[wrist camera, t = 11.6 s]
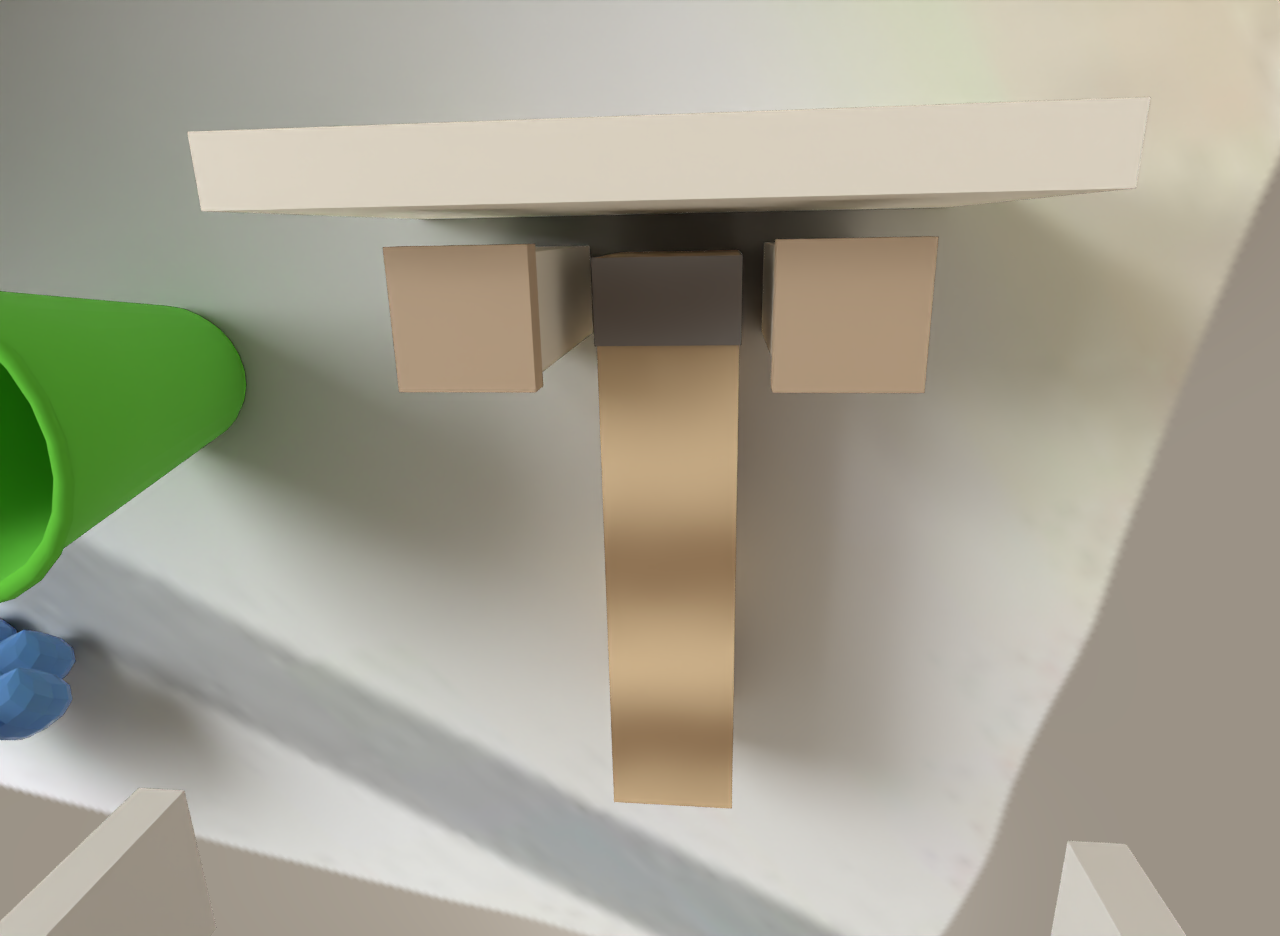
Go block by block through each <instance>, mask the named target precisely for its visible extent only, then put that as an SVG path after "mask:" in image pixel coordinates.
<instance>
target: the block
mask: <svg viewBox="0 0 1280 936" xmlns="http://www.w3.org/2000/svg"><path fill="white" fill-rule="evenodd" d="M591 264H592V290H593V316H594V342H595V346H597V360H598V386H599V413H600V439H601V466H602V492H603V519H604V545H605V572H606V598H607V625H608V651H609V678H610V704H611V731H612V757H613V784H614V802H625V803H643V804H661V805H679V806H697V807H714V808H732V758H733V697H734V636H735V575H736V514H737V453H738V392H739V345H741V326H742V267H743V255H742V254H741V252H740V251H739V250H701V251H650V252H618V253H613V254H609V255H604V256H599V257H594V258H591Z"/></svg>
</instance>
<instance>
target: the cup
mask: <svg viewBox="0 0 1280 936" xmlns="http://www.w3.org/2000/svg"><path fill="white" fill-rule="evenodd" d="M245 391H246V379H245V370H244V367H243V364H242V361H241V359H240V356H239V354H238V352H237V350H236V349H235V347H234V345H233V344H232V342H231V341H230V340H229V339H228V337H227V336H226V335H225V334H224V333H223V332H222V331H221V330H220V329H219V328H218V327H216V326H215V325H214V324H212V323H211V322H209V321H208V320H206V319H204V318H203V317H201V316H199V315H197V314H195V313H193V312H190V311H188V310H186V309H182V308H176V307H171V306H163V305H151V304H140V303H128V302H117V301H105V300H94V299H82V298H71V297H60V296H48V295H37V294H25V293H14V292H2V291H0V603H2V602H5V601H8V600H12V599H15V598H16V597H18V596H19V595H21V594H22V593H24V592H25V591H27V590H28V589H29V588H31V587H32V586H34V585H35V584H37V583H38V582H40V581H41V580H42V579H43V578H44V576H45V575H46V574H47V572H48V571H49V570H50V568H51V567H52V566H53V564H54V563H55V562H56V560H57V559H58V558H59V556H60V555H61V554H62V551H63V548H65V547H66V546H68V545H69V544H70V543H72V542H73V541H75V540H76V539H77V538H79V537H80V536H81V535H83V534H84V533H86V532H87V531H88V530H90V529H91V528H92V527H94V526H95V525H97V524H98V523H99V522H101V521H102V520H103V519H105V518H106V517H108V516H109V515H110V514H112V513H113V512H115V511H116V510H117V509H119V508H120V507H121V506H123V505H124V504H126V503H127V502H128V501H130V500H131V499H132V498H134V497H135V496H137V495H138V494H139V493H141V492H142V491H143V490H145V489H146V488H148V487H149V486H150V485H152V484H153V483H155V482H156V481H157V480H159V479H160V478H161V477H163V476H164V475H166V474H167V473H168V472H170V471H171V470H172V469H174V468H175V467H177V466H178V465H179V464H181V463H182V462H183V461H185V460H186V459H188V458H189V457H190V456H192V455H193V454H195V453H196V452H197V451H199V450H200V449H201V448H203V447H204V446H206V445H207V444H208V443H210V442H211V441H212V440H214V439H215V438H217V437H218V436H219V435H221V434H222V433H223V432H225V431H226V430H228V428H229V427H230V426H231V425H232V423H233V422H234V421H235V420H236V418H237V416H238V414H239V411H240V409H241V407H242V404H243V402H244V399H245Z"/></svg>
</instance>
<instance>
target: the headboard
mask: <svg viewBox="0 0 1280 936" xmlns="http://www.w3.org/2000/svg"><path fill="white" fill-rule="evenodd" d="M1150 98H1151V97H1131V98H1104V99H1076V100H1048V101H1021V102H993V103H965V104H938V105H910V106H882V107H855V108H827V109H799V110H772V111H744V112H717V113H689V114H661V115H634V116H606V117H578V118H551V119H523V120H495V121H468V122H440V123H412V124H385V125H357V126H329V127H302V128H274V129H247V130H219V131H191V132H187V134H188V139H189V145H190V151H191V156H192V162H193V168H194V173H195V179H196V184H197V190H198V196H199V201H200V207H201V211H209V212H237V213H264V214H292V215H319V216H346V217H374V218H401V219H452V218H496V217H540V216H584V215H628V214H672V213H716V212H760V211H804V210H848V209H892V208H936V207H956V206H966V205H976V204H986V203H996V202H1006V201H1015V200H1025V199H1035V198H1045V197H1055V196H1065V195H1074V194H1084V193H1094V192H1104V191H1114V190H1123V189H1133V188H1136V186H1137V180H1138V173H1139V167H1140V161H1141V155H1142V148H1143V142H1144V136H1145V130H1146V123H1147V117H1148V111H1149V105H1150ZM937 248H938V237H933V236H923V237H870V238H817V239H775V242H764V261H763V298H762V334H763V336H764V339H765V341H766V344H767V347H768V349H769V352H770V355H771V357H772V360H771V389H772V392H773V393H924V391H925V380H926V369H927V358H928V347H929V336H930V325H931V314H932V303H933V292H934V281H935V270H936V259H937ZM383 255H384V264H385V273H386V281H387V290H388V299H389V308H390V317H391V326H392V335H393V343H394V352H395V361H396V370H397V379H398V388H399V392H537V391H538V390H539V389H540V388H541V387H543V374H542V372H543V371H544V370H546V369H547V368H548V367H550V366H551V365H552V364H553V363H555V362H556V361H557V360H558V359H560V358H561V357H562V356H564V355H565V354H566V353H567V352H569V351H570V350H571V349H572V348H574V347H575V346H576V345H578V344H579V343H580V342H581V341H583V340H584V339H585V338H586V337H588V336H589V335H590V334H592V333H593V318H592V291H591V264H590V246H541V247H535V244H501V245H448V246H396V247H383Z"/></svg>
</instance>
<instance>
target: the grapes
mask: <svg viewBox="0 0 1280 936" xmlns="http://www.w3.org/2000/svg"><path fill="white" fill-rule="evenodd" d="M75 661H76V660H75V655H74V650H73V647H71V646H70V645H69V644H67V643H66V642H65V641H64V640H62V639H61V638H58V637H55V636H52V635H49V634H45V633H42V632H38V631H31V630H23V631H20V632H18V633H17V632H16V629H15V628H13V627H12V626H11V625H9V624H8V623H7V622H5V621H4V620H2V619H0V740H21V739H25V738H28V737H30V736H32V735H34V734H36V733H38V732H40V731H42V730H44V729H46V728H48V727H49V726H50V725H51V724H53V723H54V722H55V721H56V720H58V719H59V718H60V717H61V716H63V715H64V713H65V711H66V710H67V708H68V706H69V704H70V703H71V701H72V694H71V689H70V685H69V684H68V683H66V682H65V681H64V680H62V679H63V678H64V677H65V676H67V674H68V673H69V671H70V669H71V668H72V666H73V664H74V663H75Z"/></svg>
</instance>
